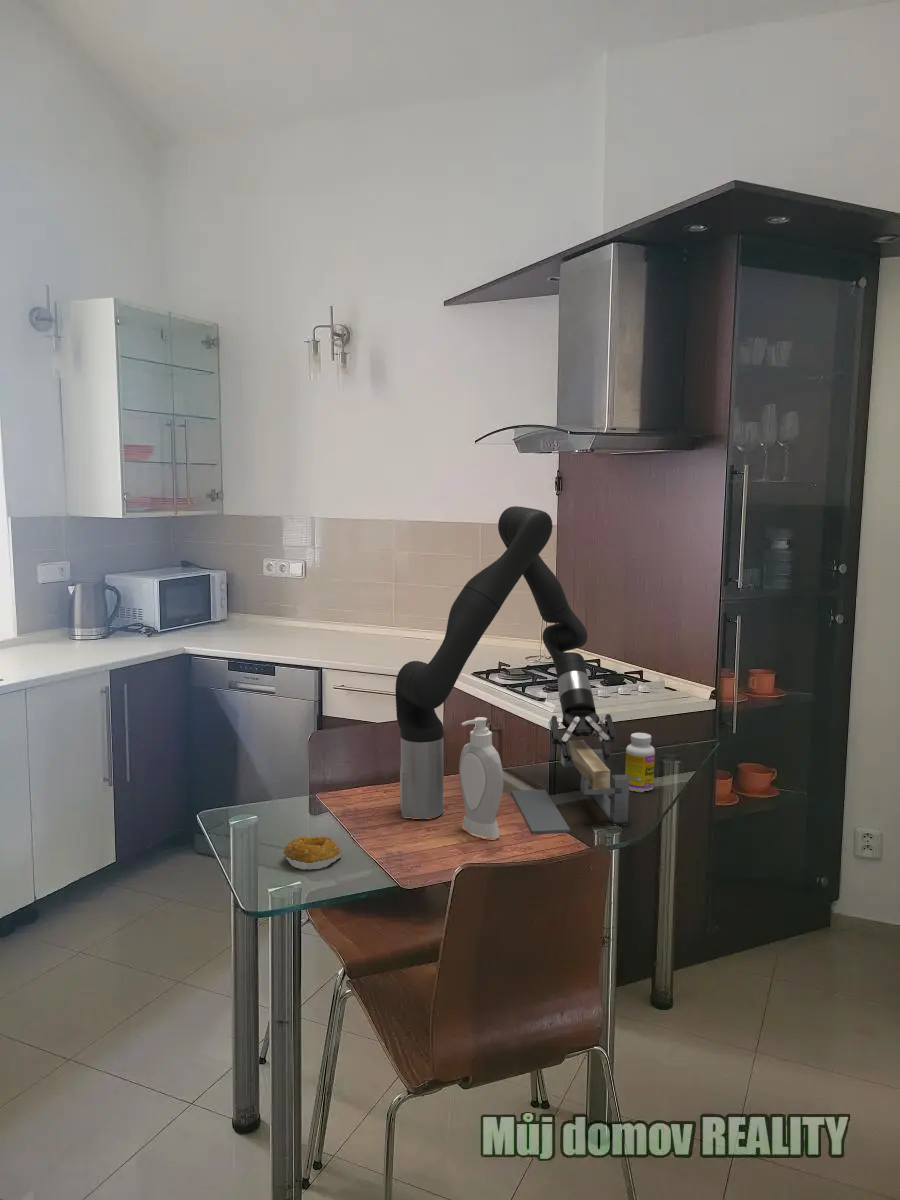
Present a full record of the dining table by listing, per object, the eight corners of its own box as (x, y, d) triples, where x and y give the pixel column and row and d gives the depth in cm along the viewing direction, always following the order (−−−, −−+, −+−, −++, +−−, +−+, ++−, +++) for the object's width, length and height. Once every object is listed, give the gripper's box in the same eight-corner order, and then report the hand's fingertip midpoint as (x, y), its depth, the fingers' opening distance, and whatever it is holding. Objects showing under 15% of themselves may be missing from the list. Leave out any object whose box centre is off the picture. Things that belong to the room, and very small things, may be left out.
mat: (532, 833, 188) (532, 831, 188) (511, 793, 212) (511, 790, 212) (570, 832, 189) (570, 829, 189) (545, 791, 213) (545, 789, 213)
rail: (593, 789, 191) (593, 771, 190) (568, 757, 212) (568, 740, 212) (609, 789, 191) (610, 770, 190) (582, 756, 213) (583, 739, 212)
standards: (583, 826, 192) (584, 780, 191) (560, 792, 213) (561, 749, 211) (627, 825, 193) (629, 778, 192) (600, 790, 214) (601, 748, 212)
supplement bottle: (646, 795, 211) (647, 741, 209) (619, 789, 215) (621, 736, 213) (658, 787, 216) (660, 734, 214) (632, 781, 220) (634, 729, 218)
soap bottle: (441, 829, 190) (441, 715, 187) (469, 820, 195) (469, 709, 192) (483, 849, 181) (484, 729, 177) (511, 839, 186) (512, 722, 182)
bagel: (346, 867, 173) (345, 843, 172) (287, 876, 169) (286, 851, 169) (336, 848, 182) (336, 825, 181) (281, 855, 179) (280, 832, 178)
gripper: (548, 687, 207) (559, 752, 198) (609, 685, 209) (623, 749, 199) (542, 704, 213) (553, 767, 204) (602, 702, 215) (615, 765, 205)
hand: (587, 758), depth 202 cm, fingers open, 8 cm apart
